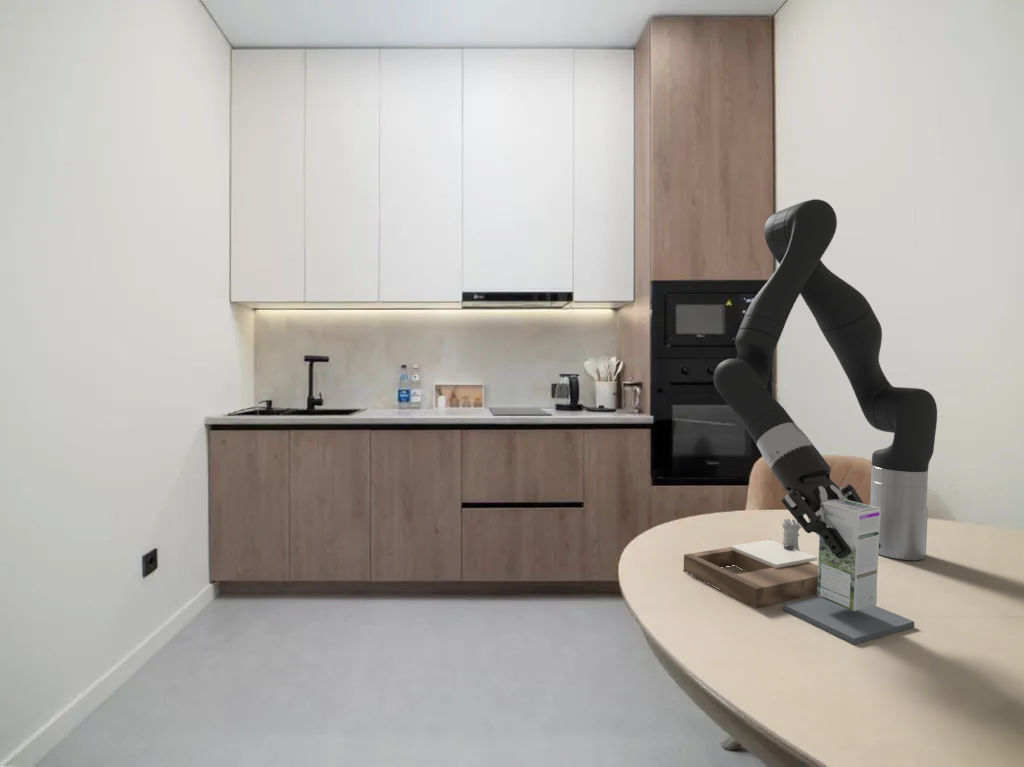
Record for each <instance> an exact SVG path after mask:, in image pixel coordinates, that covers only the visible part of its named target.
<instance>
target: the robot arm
mask: <svg viewBox="0 0 1024 767" xmlns="http://www.w3.org/2000/svg"><path fill="white" fill-rule="evenodd" d="M837 219H838V218H837V215H836V211H835V210H834V208H833V207H832V205H831V204H829V203H828V202H827V201H825V200H823V199H817V198H816V199H809V200H806V201H805V200H804V201H802V202H799V203H797V204H794V205H791V206H789V207H787V208H784V209H782V210H779V211H777V212H775V213H773V214H772V215H771V216H770V217H768V218H767V220H766V222H765V225H764V229H763V230H764V232H763V235H764V239H765V242H766V245H767V247H768V250H769V251H770V253H771V254H772V255H773V257H774V259H775V260H776V261H777V262H778V264H779V265H778V267H777V268H776V270H775V271H774V272H773V273H772V275H771V276H770V278H769V279H768V280H767V282H765V283H764V285H763V286H762V287H761V289H760V290H759V291H758V292H757V294H756V295H755V297H754V298H753V299H752V300H751V303H750V304H749V306H748V308H747V310H746V312H745V313H744V316H743V319H742V321H741V323H740V326H739V328H738V331H737V334H736V336H735V340H734V341H735V342H734V344H735V347H736V350H737V351H736V352H737V356H736V358H728V359H725V360H723V361H722V362H720V363H719V364H717V367H715V369H714V372H713V378H712V379H713V384H714V387H715V389H716V391H717V392H718V393H719V394H720V397H722V399H724V402H725V403H727V405H728V407H730V409H731V410H732V411H733V412H734V414H736V416H737V417H738V418H739V420H740V421H741V423H742V424H743V426H744V428H745V429H746V432H747V433H748V434H749V435H750V437H751V439H752V440H753V442H754V443H755V445H756V447H757V448H758V450H759V452H760V454H761V457H762V458H763V460H764V461H765V462H766V464H767V465H768V467H769V468H770V470H771V471H772V473H773V474H774V475H775V477H776V479H777V481H778V482H779V483H780V485H781V486H782V487H783V489H784V490H785V492H787V493H788V494H786V495H785V496H784V497H783V498H781V502H782V504H783V505H784V506H785V508H786V509H787V510H788V511H789V513H790V514H791V515H792V516H793V518H794V520H795V521H798V523H799V525H800V526H801V528H802V529H803V531H804V532H805V533H807V534H811V533H814V534H816V535H817V536H818V537H820V536H821V537H822V538H823V540H824V541H825V543H826V544H827V545H828V547H829V548H830V550H831V551H832V553H833V554H835V556H836V557H837V558H839V559H840V558H844V557H845V556H847V555H849V554H850V553H851V550H850V548H849V547H848V545H847V544H846V542H845V541H844V539H843V538H842V537H841V535H840V534H839V532H838V531H837V530H836V528H834V529H832V528H833V524H832V522H831V520H830V519H829V517H828V516H827V509H826V508H825V507H824V505H823V503H824V502H827V501H828V500H833V499H845V500H849V501H853V502H858V503H862V504H865V503H864V502H863V500H862V498H861V497H860V496H859V494H858V492H857V491H856V489H855V488H854V486H853V485H851V484H847V485H845V486H844V487H841V486H840V487H839V486H838V484H836V483H835V482H834V481H833V480H832V479H831V478H830V476H831V475H830V474H831V471H832V469H831V467H830V464H828V463H827V461H826V459H825V458H824V457H823V456H822V454H821V453H820V452H819V451H818V449H817V448H816V446H815V445H814V444H813V442H812V441H811V440H810V438H809V437H808V436H807V434H806V433H804V431H803V430H802V429H801V428H800V427H799V426H798V425H797V424H796V422H795V421H794V419H793V418H792V417H791V416H790V414H789V413H788V412H787V410H786V409H785V408H784V407H783V406H782V405H781V404H780V403H779V402H778V401H777V400H776V399H775V398H774V397H773V396H772V395H771V393H770V392H769V390H768V389H767V387H768V384H769V379H770V376H771V372H772V371H771V370H772V366H773V361H774V353H775V350H776V347H777V345H778V344H779V341H780V338H781V335H782V333H783V331H784V328H785V326H786V323H787V321H788V318H789V316H790V314H791V312H792V309H793V307H794V306H795V303H796V302H797V299H798V298H799V296H801V298H802V299H803V301H804V302H805V304H806V306H807V307H808V309H809V310H810V312H811V314H812V316H813V317H814V319H815V321H816V323H817V326H818V327H819V330H820V331H821V333H822V334H823V336H824V338H825V340H826V342H827V343H828V344H829V346H830V348H831V349H832V351H833V353H834V355H835V356H836V358H837V360H838V362H839V364H840V365H841V367H842V370H843V371H844V373H845V375H846V377H847V379H848V382H849V383H850V386H851V388H852V390H853V392H854V395H855V397H856V399H857V402H858V405H859V408H860V409H861V410H860V411H861V412H862V413H863V416H864V418H865V420H866V421H867V422H868V424H869V425H870V426H872V428H874V429H875V430H878V431H881V432H886V433H893V440H892V443H891V445H889V446H888V447H885V448H881V449H876V450H875V451H874V452H872V454H871V474H870V475H871V477H870V501H869V505H870V506H874V507H879V508H880V509H881V517H880V536H879V552H878V555H879V556H880V555H881V556H883V557H887V558H891V559H896V560H897V559H898V560H904V561H921V560H923V559H925V555H927V538H928V537H927V536H928V519H929V518H928V516H929V515H928V514H929V511H928V510H929V508H928V507H927V506H928V505H927V504H928V503H927V502H928V484H929V482H928V479H929V465H930V462H931V459H932V457H933V454H934V448H935V441H936V433H937V424H938V421H937V420H938V406H937V402H936V400H935V398H934V396H933V394H931V393H930V392H929V391H928V390H926V389H923V388H918V387H899V386H898V387H897V386H893V385H892V384H891V383H890V381H889V380H888V379H887V377H886V375H885V373H884V371H883V369H882V367H881V364H880V359H879V358H880V352H881V346H882V342H883V341H882V340H883V330H882V326H881V323H880V321H879V318H878V317H877V315H876V313H875V312H874V310H873V308H872V305H871V304H870V303H869V301H868V300H867V298H866V297H865V296H864V294H862V293H861V292H860V291H859V290H858V289H856V287H854V286H852V285H851V284H849V283H848V282H846V281H845V280H843V279H842V278H841V277H840V276H838V275H836V274H835V273H833V271H831V270H830V269H829V268H828V267H827V266H826V265H825V264H824V262H823V261H822V260H821V259H822V258H823V256H824V255H825V252H826V251H827V249H828V248H829V246H830V244H831V242H832V241H833V238H834V236H835V234H836V230H837V228H838V221H837ZM821 502H822V505H821ZM805 515H806V517H807V519H808V520H806V518H805V517H804V516H805ZM820 518H822V521H821V520H820Z"/></svg>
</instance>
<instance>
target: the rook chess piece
mask: <svg viewBox="0 0 1024 767" xmlns="http://www.w3.org/2000/svg"><path fill="white" fill-rule="evenodd" d="M781 526H782V528H783V531H782V534H783V540H782V543H781V544H782V545H784V544H790V545H793V549H796V550H799V551H801V550H800V548H799V536H800V533H799V530H800V529H801V528H802V527H801V525H800V524H799V523H798V521H797V520H796V519H792V520H791V519H790V518H786V519H783V523H781Z"/></svg>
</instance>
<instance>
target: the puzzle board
mask: <svg viewBox="0 0 1024 767" xmlns="http://www.w3.org/2000/svg"><path fill="white" fill-rule="evenodd" d="M732 565H735V566H737V567H739V568H741V569H743V570H742V571H744V570H745V571H744V572H742V573H734V572H731V571H729V570H727V569H726V568H727V567H726V566H732ZM735 566H734V567H735ZM721 567H726V568H721ZM732 567H733V566H732ZM737 567H736V568H737ZM739 568H738V569H739ZM741 569H740V570H741ZM684 571H686V572H688V573H689V575H690V574H692V575H693V577H694V576H695V577H694V578H696V577H697V578H696V579H698V578H699V579H698V580H700V579H701V581H702V580H703V581H702V582H704V581H705V582H704V583H706V582H707V583H706V584H708V583H709V584H708V585H710V584H711V585H710V586H712V585H713V586H712V587H714V586H715V587H717V588H719V589H720V590H719V589H718V590H719V591H721V590H722V591H721V592H723V591H724V592H723V593H725V592H726V593H725V594H727V593H728V594H727V595H730V596H731V595H732V596H731V597H734V598H736V599H737V600H739V601H740V602H743V603H745V604H747V605H748V606H751V607H752V608H754V609H757V608H758V609H759V608H762V607H763V608H764V607H767V606H771V605H777V604H782V603H786V602H788V601H789V602H790V601H794V600H798V599H803V598H807V597H812V596H817V586H818V564H815V563H813V562H806V563H801V564H796V565H790V566H785V567H780V568H774V567H772V566H769V565H767V564H765V563H762V562H760V561H757V560H755V559H753V558H750V557H748V556H745V555H743V554H740V553H738V552H736V551H733V550H731V549H730V546H729V547H723V548H715V549H710V550H704V551H698V552H693V553H686V554H684V555H683V572H684ZM746 571H747V572H746ZM686 572H685V573H686ZM688 573H687V574H688ZM692 575H691V576H692ZM715 587H714V588H715ZM717 588H716V589H717Z"/></svg>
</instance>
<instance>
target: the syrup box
mask: <svg viewBox="0 0 1024 767" xmlns="http://www.w3.org/2000/svg"><path fill="white" fill-rule="evenodd" d="M821 505H822V502H821ZM823 505H824V507H825V508H826V509H827V516H828V517H829V519H830V520H831V522H832V524H833V528H832V529H834V528H836V530H837V531H838V532H839V534H840V535H841V537H842V538H843V539H844V541H845V542H846V544H847V545H848V547H849V548H850V550H851V553H850V554H849V555H847V556H845V557H844V558H840V559H839V558H837V557H836V556H835V554H833V553H832V551H831V550H830V548H829V547H828V545H827V544H826V543H825V541H824V540H823V538H822V537H821V536H818V537H819V540H818V559H817V565H818V586H817V595H816V597H821V598H823V599H826V600H828V601H831V602H833V603H835V604H838V605H840V606H842V607H845V608H847V609H849V610H852V611H857V610H861V609H865V608H868V607H871V606H874V605H875V606H877V604H878V603H877V602H878V570H879V568H878V567H879V554H878V552H879V536H880V517H881V509H880V508H879V507H874V506H870V504H865V503H864V504H862V503H858V502H853V501H849V500H845V499H833V500H828V501H827V502H824V503H823ZM820 520H821V521H822V518H820Z"/></svg>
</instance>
